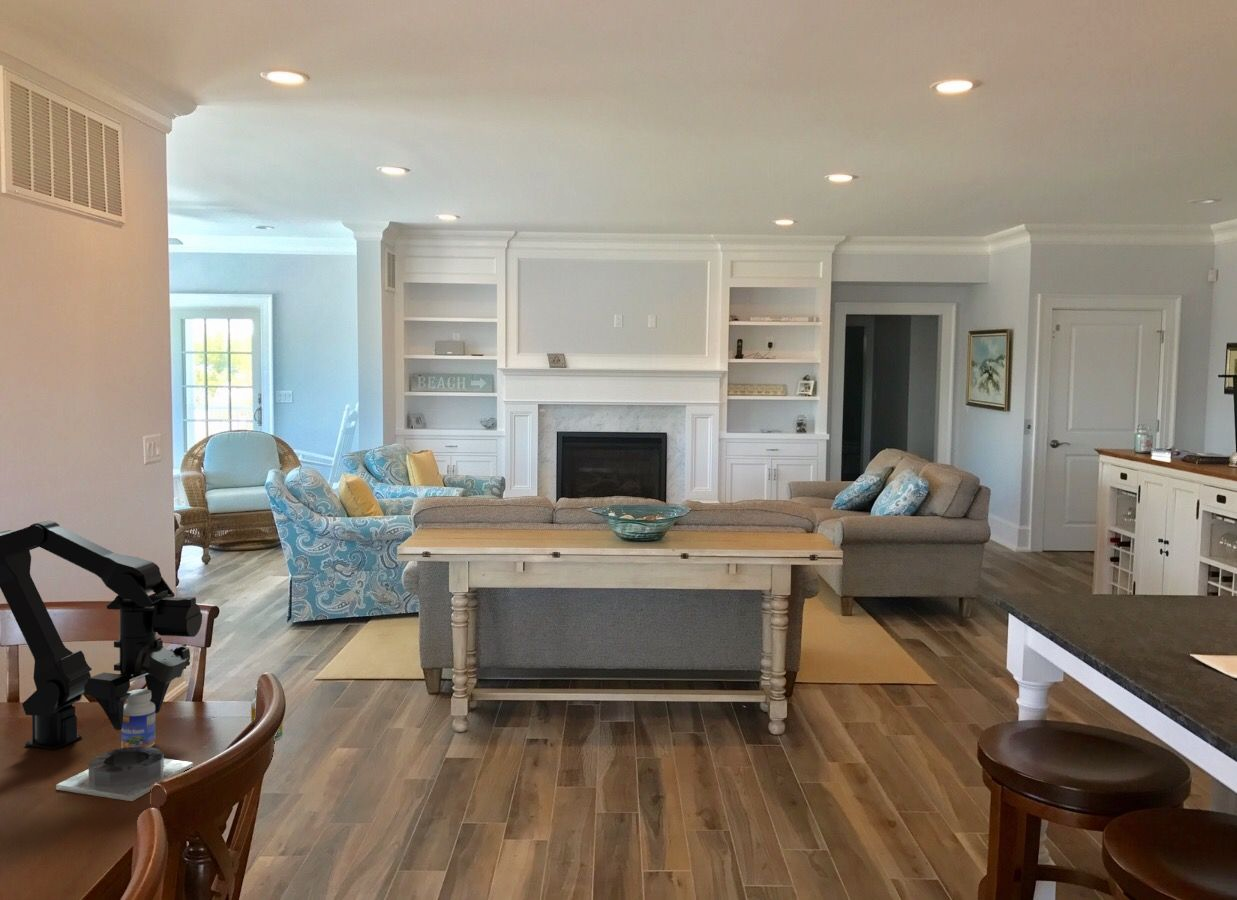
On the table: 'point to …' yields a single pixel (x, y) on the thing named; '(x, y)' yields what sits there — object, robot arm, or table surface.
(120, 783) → the collar
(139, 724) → the pill bottle
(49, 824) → the table surface
